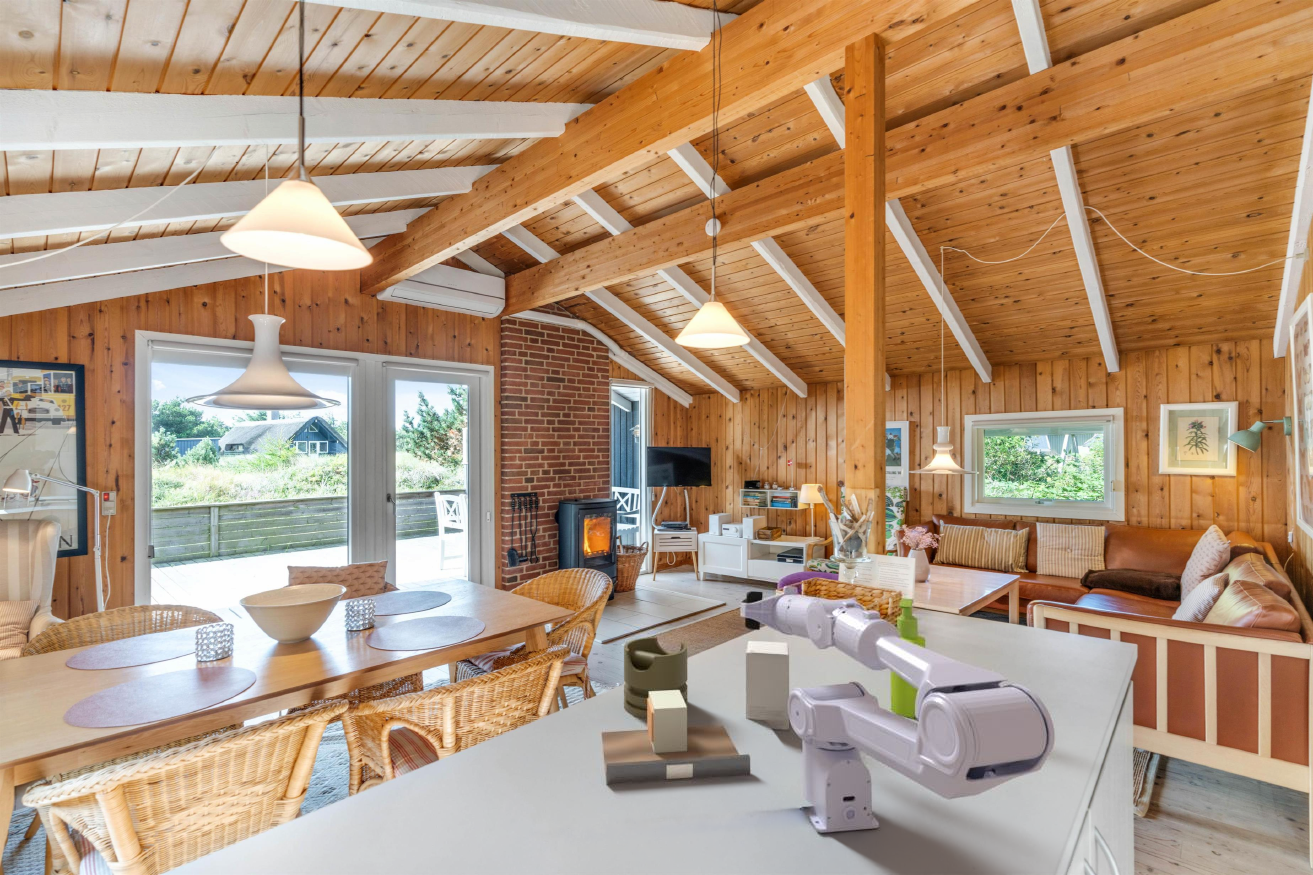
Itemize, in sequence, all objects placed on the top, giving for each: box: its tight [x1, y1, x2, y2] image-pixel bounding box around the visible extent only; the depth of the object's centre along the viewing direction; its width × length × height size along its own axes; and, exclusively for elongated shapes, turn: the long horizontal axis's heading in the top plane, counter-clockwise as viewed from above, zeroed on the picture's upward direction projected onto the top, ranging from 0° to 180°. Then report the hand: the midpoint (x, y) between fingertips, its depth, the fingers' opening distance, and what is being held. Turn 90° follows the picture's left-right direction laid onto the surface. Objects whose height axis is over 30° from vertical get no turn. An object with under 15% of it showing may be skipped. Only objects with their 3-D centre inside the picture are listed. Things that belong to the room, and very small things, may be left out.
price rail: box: [605, 754, 751, 785], centre depth 85 cm, size 1×20×2 cm, turn 97°
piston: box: [623, 636, 688, 720], centre depth 111 cm, size 11×12×11 cm
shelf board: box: [601, 724, 744, 786], centre depth 93 cm, size 16×20×2 cm
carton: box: [646, 690, 688, 753], centre depth 97 cm, size 5×7×6 cm
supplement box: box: [745, 640, 790, 731], centre depth 108 cm, size 7×7×13 cm
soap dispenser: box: [890, 597, 926, 719], centre depth 111 cm, size 6×7×20 cm
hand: (765, 608), depth 102 cm, fingers open, 7 cm apart
